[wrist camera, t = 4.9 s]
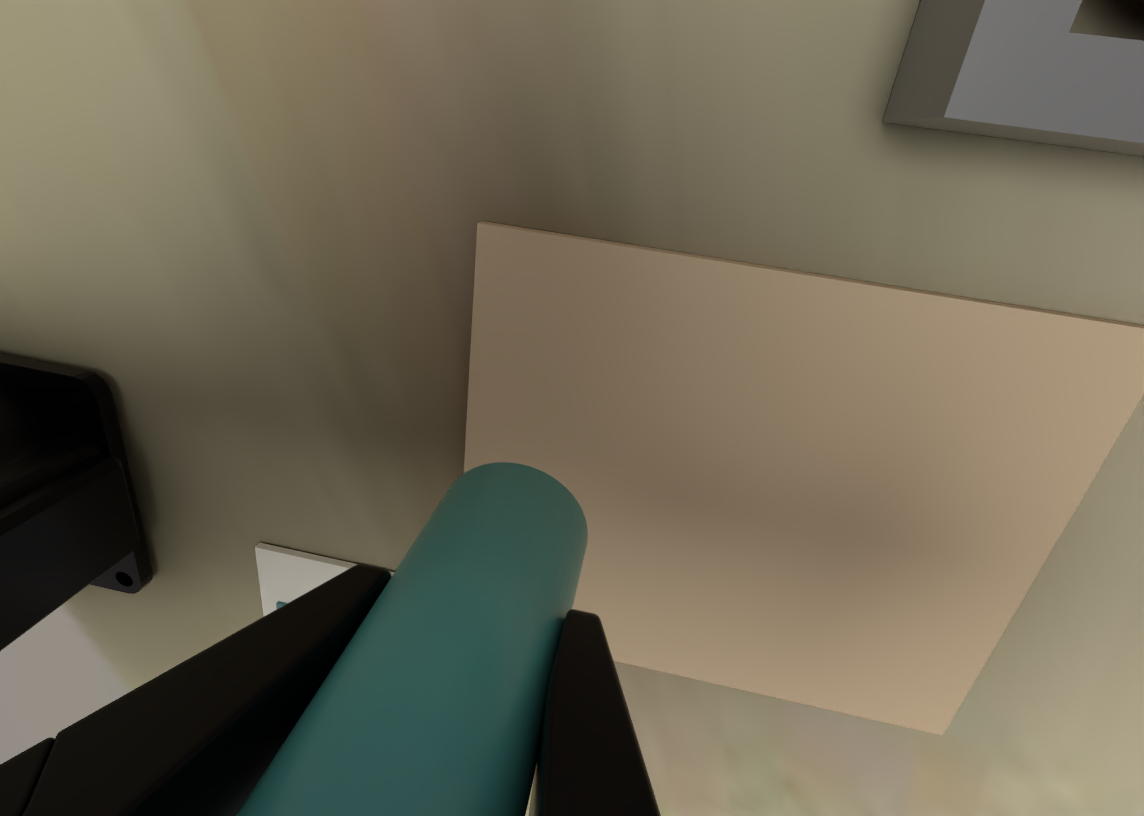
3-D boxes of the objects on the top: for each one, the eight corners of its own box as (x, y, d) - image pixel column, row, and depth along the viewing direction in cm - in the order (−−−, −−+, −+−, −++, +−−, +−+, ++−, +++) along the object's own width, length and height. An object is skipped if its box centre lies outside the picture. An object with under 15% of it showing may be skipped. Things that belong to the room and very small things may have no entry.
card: (273, 652, 17) (267, 660, 17) (259, 542, 16) (251, 549, 15) (437, 691, 17) (433, 700, 17) (442, 582, 15) (437, 590, 15)
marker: (436, 571, 10) (-188, 1696, 3) (441, 445, 9) (-550, 1737, 2) (579, 603, 10) (297, 1918, 3) (601, 477, 9) (225, 2111, 2)
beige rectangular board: (459, 616, 16) (455, 624, 15) (481, 221, 11) (477, 223, 11) (937, 724, 14) (942, 735, 14) (1166, 328, 10) (1178, 334, 10)
